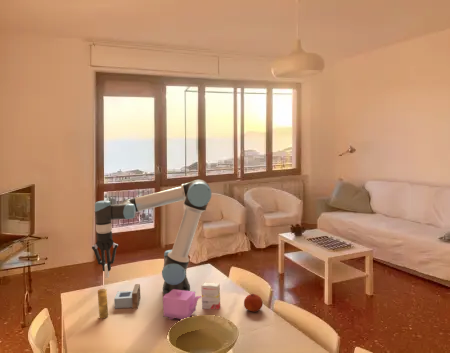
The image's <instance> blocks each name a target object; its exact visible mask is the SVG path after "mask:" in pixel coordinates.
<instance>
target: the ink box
mask: <svg viewBox="0 0 450 353" xmlns="http://www.w3.org/2000/svg"><path fill="white" fill-rule="evenodd" d="M220 286H221V285H220V283H219V282H205V281H204V282H203V283H202V284H201V287H200V288H201V289H200V291H201V296H202V297H201V307H202V310H205V309H206V310H207V309H208V310H220V307H221V287H220Z"/></svg>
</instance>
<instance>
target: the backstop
mask: <svg viewBox="0 0 450 353" xmlns="http://www.w3.org/2000/svg"><path fill="white" fill-rule="evenodd" d="M132 291H133V292H132V305H133V307H132V309H133V310H134V309H136V310H137V309H138V308H139V305H140V301H141V283H135V284H134V286H133V289H132Z"/></svg>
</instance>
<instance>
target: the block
mask: <svg viewBox="0 0 450 353" xmlns="http://www.w3.org/2000/svg"><path fill="white" fill-rule="evenodd" d="M132 292H133V290H120V291H119V290H118V291H117V292H116V295H114V296H115V297H114V299H113V300H114V309H125V308H133V305H132Z"/></svg>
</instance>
